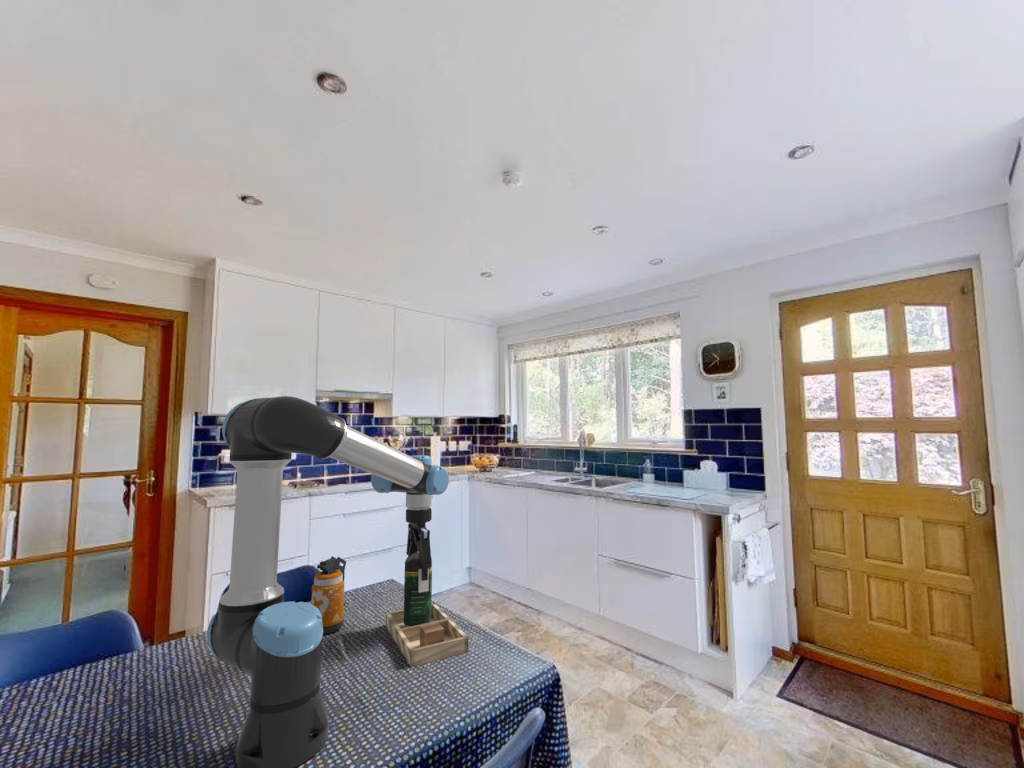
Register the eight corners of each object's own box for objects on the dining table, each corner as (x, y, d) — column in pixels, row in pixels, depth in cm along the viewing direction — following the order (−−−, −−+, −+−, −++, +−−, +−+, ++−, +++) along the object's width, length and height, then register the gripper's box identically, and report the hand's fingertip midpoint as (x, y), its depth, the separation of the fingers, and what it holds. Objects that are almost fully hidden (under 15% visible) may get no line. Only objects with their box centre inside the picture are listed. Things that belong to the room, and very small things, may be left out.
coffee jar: (431, 627, 123) (431, 558, 125) (402, 629, 122) (403, 559, 124) (432, 613, 133) (432, 549, 135) (405, 615, 132) (406, 550, 134)
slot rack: (468, 655, 113) (468, 637, 114) (410, 670, 106) (411, 651, 107) (434, 617, 137) (434, 603, 137) (385, 628, 130) (386, 612, 130)
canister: (303, 633, 127) (305, 561, 129) (329, 618, 137) (331, 552, 140) (329, 637, 124) (331, 563, 127) (354, 621, 135) (355, 553, 137)
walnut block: (444, 649, 115) (444, 628, 116) (425, 653, 113) (425, 633, 113) (437, 641, 119) (437, 621, 120) (419, 645, 117) (419, 625, 118)
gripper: (443, 512, 123) (443, 595, 121) (420, 501, 143) (419, 573, 140) (417, 514, 120) (416, 600, 117) (396, 504, 139) (395, 577, 137)
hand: (418, 586), depth 129 cm, fingers closed on coffee jar, 10 cm apart
